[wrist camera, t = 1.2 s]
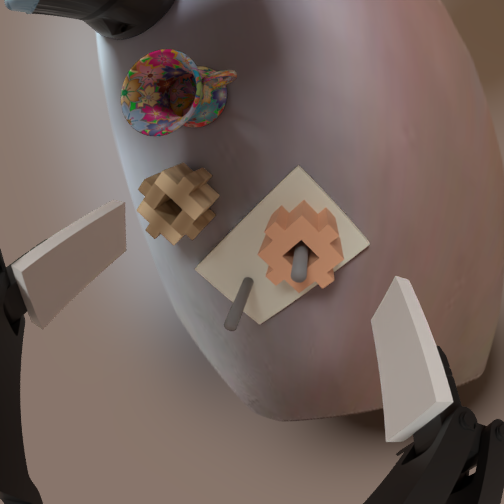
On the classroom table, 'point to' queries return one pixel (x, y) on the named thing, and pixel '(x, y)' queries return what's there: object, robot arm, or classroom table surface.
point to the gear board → (251, 241)
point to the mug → (172, 93)
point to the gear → (177, 202)
